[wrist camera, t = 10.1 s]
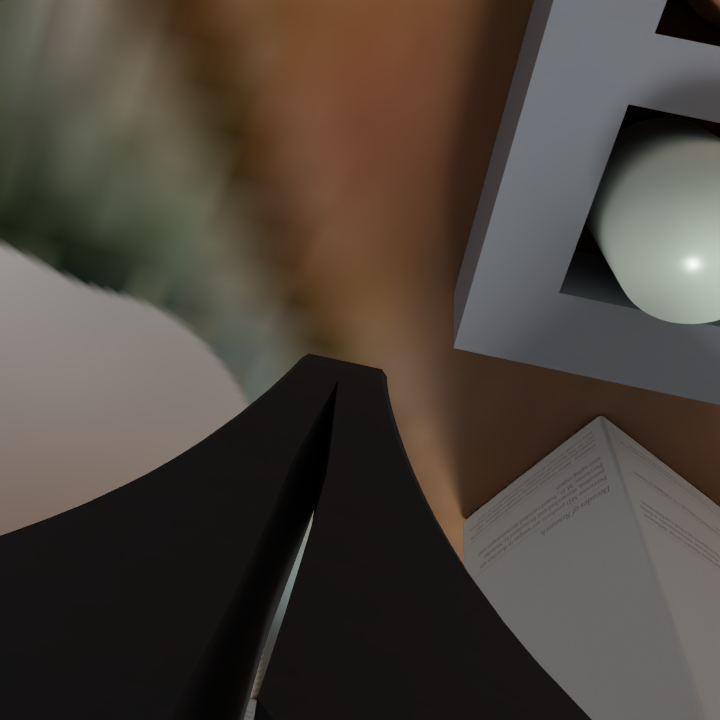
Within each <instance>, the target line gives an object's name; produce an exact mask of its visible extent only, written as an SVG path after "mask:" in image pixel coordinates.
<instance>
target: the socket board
mask: <svg viewBox="0 0 720 720" xmlns="http://www.w3.org/2000/svg"><path fill="white" fill-rule="evenodd" d="M666 1H667V0H534V2H533V6H532V9H531V13H530V17H529V20H528V24H527V28H526V31H525V35H524V39H523V42H522V46H521V50H520V53H519V57H518V61H517V64H516V68H515V71H514V75H513V79H512V82H511V86H510V90H509V93H508V97H507V101H506V104H505V108H504V112H503V115H502V119H501V123H500V126H499V130H498V133H497V137H496V141H495V144H494V148H493V152H492V155H491V159H490V163H489V166H488V170H487V174H486V177H485V181H484V185H483V188H482V192H481V195H480V199H479V203H478V206H477V210H476V214H475V217H474V221H473V225H472V228H471V232H470V236H469V239H468V243H467V247H466V250H465V254H464V258H463V261H462V265H461V268H460V272H459V276H458V279H457V283H456V287H455V290H454V294H453V348H455V349H460V350H465V351H469V352H474V353H479V354H483V355H488V356H493V357H497V358H502V359H507V360H511V361H516V362H521V363H525V364H530V365H535V366H539V367H544V368H549V369H553V370H558V371H563V372H567V373H572V374H577V375H581V376H586V377H591V378H595V379H600V380H605V381H610V382H614V383H619V384H624V385H628V386H633V387H638V388H642V389H647V390H652V391H656V392H661V393H666V394H670V395H675V396H680V397H684V398H689V399H694V400H698V401H703V402H708V403H712V404H717V405H720V320H717V321H713V322H708V323H700V324H680V323H673V322H668V321H664V320H661V319H658V318H656V317H653V316H651V315H649V314H648V313H646V312H644V311H642V310H641V309H640V308H639V307H637V306H636V305H635V304H634V303H633V302H632V301H631V300H630V299H629V298H628V296H627V295H626V293H625V292H624V290H623V289H622V287H621V285H620V284H619V282H618V280H617V278H616V276H615V275H614V273H613V271H612V269H611V268H610V266H609V264H608V262H607V261H606V259H605V258H604V257H599V256H594V255H589V254H585V253H580V252H575V248H576V245H577V243H578V240H579V237H580V235H581V232H582V229H583V226H584V224H585V221H586V218H587V216H588V213H589V210H590V207H591V205H592V202H593V199H594V197H595V194H596V191H597V188H598V186H599V183H600V180H601V178H602V175H603V172H604V169H605V167H606V164H607V161H608V159H609V156H610V153H611V150H612V148H613V145H614V142H615V140H616V137H617V134H618V131H619V129H620V126H621V123H622V121H623V118H624V115H625V112H626V110H627V107H628V104H629V105H634V106H639V107H644V108H649V109H654V110H659V111H664V112H668V113H673V114H678V115H683V116H688V117H693V118H698V119H703V120H708V121H712V122H717V123H720V46H717V45H712V44H707V43H702V42H697V41H692V40H687V39H682V38H677V37H672V36H667V35H662V34H657V33H655V31H656V28H657V26H658V23H659V20H660V18H661V15H662V12H663V9H664V7H665V4H666Z"/></svg>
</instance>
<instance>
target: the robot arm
mask: <svg viewBox="0 0 720 720" xmlns="http://www.w3.org/2000/svg"><path fill="white" fill-rule="evenodd" d="M313 511H314V515H313V522H312V526H311V530H310V533H309V536H308V540H307V543H306V547H305V550H304V553H303V557H302V560H301V563H300V566H299V570H298V573H297V576H296V579H295V583H294V586H293V589H292V592H291V596H290V599H289V602H288V605H287V609H286V612H285V615H284V618H283V621H282V624H281V627H280V630H279V633H278V636H277V640H276V643H275V646H274V649H273V652H272V655H271V658H270V661H269V664H268V667H267V670H266V673H265V676H264V679H263V682H262V685H261V688H260V691H259V694H258V697H257V702H256V708H255V715H254V720H592V719H591V718H590V717H589V716H588V715H587V714H586V713H585V712H584V711H583V710H582V709H581V708H580V707H579V706H578V705H577V704H576V702H575V701H574V700H573V699H572V698H571V697H570V696H569V695H568V694H567V693H566V692H565V691H564V690H563V689H562V688H561V687H560V686H559V684H558V683H557V682H556V681H555V680H554V679H553V678H552V677H551V676H550V675H549V674H548V673H547V672H546V671H545V670H544V669H543V668H542V667H541V665H540V664H539V663H538V662H537V661H536V660H535V659H534V658H533V656H532V655H531V654H530V653H529V652H528V650H527V649H526V648H525V647H524V646H523V644H522V643H521V642H520V641H519V640H518V638H517V637H516V636H515V635H514V633H513V632H512V631H511V630H510V629H509V627H508V626H507V625H506V624H505V623H504V621H503V620H502V618H501V617H500V616H499V614H498V613H497V612H496V610H495V609H494V607H493V606H492V605H491V603H490V602H489V601H488V599H487V598H486V596H485V595H484V594H483V592H482V591H481V589H480V588H479V587H478V585H477V584H476V583H475V581H474V580H473V578H472V577H471V576H470V574H469V573H468V571H467V570H466V568H465V567H464V565H463V563H462V562H461V560H460V559H459V557H458V555H457V554H456V552H455V551H454V549H453V547H452V546H451V544H450V543H449V541H448V539H447V537H446V536H445V534H444V532H443V530H442V529H441V527H440V525H439V523H438V521H437V520H436V518H435V516H434V514H433V512H432V510H431V508H430V506H429V504H428V502H427V500H426V498H425V496H424V494H423V492H422V490H421V487H420V485H419V483H418V481H417V478H416V476H415V474H414V472H413V469H412V467H411V464H410V462H409V459H408V457H407V454H406V451H405V448H404V446H403V443H402V440H401V437H400V434H399V431H398V428H397V425H396V422H395V418H394V415H393V411H392V407H391V403H390V398H389V393H388V387H387V376H386V375H385V373H384V372H383V370H382V369H378V368H373V367H369V366H364V365H359V364H355V363H350V362H345V361H341V360H336V359H332V358H327V357H322V356H318V355H313V354H308V355H306V356H304V357H302V358H301V359H300V360H299V361H298V362H297V363H296V364H295V365H294V366H293V367H292V368H291V369H290V370H289V371H288V372H287V373H286V374H285V375H284V376H283V377H282V378H281V379H280V380H279V381H278V382H277V383H276V384H274V385H273V386H272V387H271V388H270V389H269V390H268V391H267V392H265V393H264V394H263V395H262V396H261V397H259V398H258V399H257V400H256V401H254V402H253V403H252V404H251V405H250V406H248V407H247V408H246V409H245V410H244V411H242V412H241V413H240V414H238V415H237V416H236V417H235V418H233V419H232V420H230V421H229V422H228V423H226V424H225V425H224V426H222V427H221V428H219V429H218V430H216V431H215V432H214V433H213V434H211V435H209V436H208V437H207V438H205V439H204V440H202V441H201V442H199V443H198V444H196V445H195V446H193V447H192V448H190V449H189V450H187V451H185V452H184V453H182V454H181V455H179V456H177V457H176V458H174V459H172V460H171V461H169V462H167V463H165V464H164V465H162V466H160V467H158V468H157V469H155V470H153V471H152V472H150V473H148V474H146V475H144V476H142V477H140V478H138V479H136V480H134V481H132V482H130V483H128V484H126V485H124V486H122V487H119V488H118V489H115V490H113V491H111V492H109V493H107V494H105V495H103V496H100V497H98V498H96V499H94V500H92V501H90V502H88V503H85V504H83V505H81V506H78V507H76V508H73V509H71V510H68V511H66V512H63V513H61V514H58V515H56V516H53V517H51V518H48V519H46V520H43V521H40V522H37V523H35V524H32V525H29V526H27V527H24V528H21V529H18V530H16V531H13V532H10V533H7V534H4V535H1V536H0V720H244V717H245V714H246V710H247V706H248V703H249V699H250V695H251V692H252V688H253V684H254V680H255V677H256V673H257V669H258V666H259V662H260V658H261V655H262V651H263V648H264V645H265V642H266V639H267V636H268V633H269V630H270V627H271V624H272V621H273V618H274V616H275V613H276V610H277V608H278V605H279V602H280V600H281V597H282V594H283V592H284V589H285V586H286V584H287V581H288V578H289V576H290V573H291V570H292V568H293V565H294V562H295V560H296V557H297V554H298V552H299V549H300V546H301V544H302V541H303V538H304V536H305V533H306V530H307V527H308V525H309V522H310V519H311V517H312V514H313Z"/></svg>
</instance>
